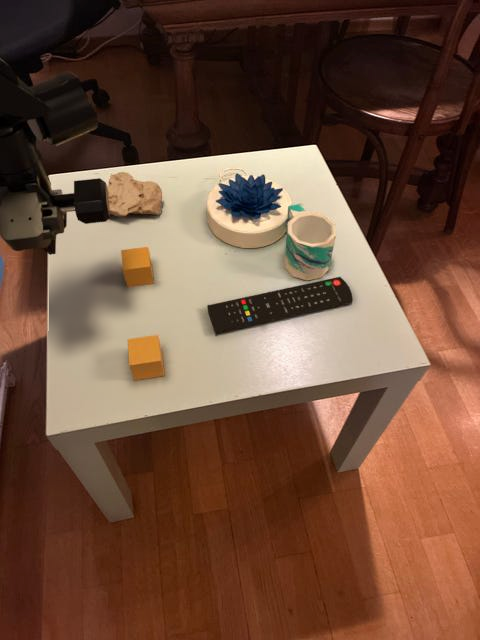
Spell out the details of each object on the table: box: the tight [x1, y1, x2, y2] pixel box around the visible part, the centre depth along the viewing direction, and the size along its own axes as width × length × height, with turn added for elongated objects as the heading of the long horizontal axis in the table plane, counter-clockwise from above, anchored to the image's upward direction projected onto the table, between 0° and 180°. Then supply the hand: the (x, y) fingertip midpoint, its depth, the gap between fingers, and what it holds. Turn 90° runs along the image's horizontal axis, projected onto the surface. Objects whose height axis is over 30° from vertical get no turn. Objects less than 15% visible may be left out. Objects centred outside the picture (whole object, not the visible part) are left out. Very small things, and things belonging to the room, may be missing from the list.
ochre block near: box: [127, 334, 165, 381], centre depth 72 cm, size 4×4×4 cm
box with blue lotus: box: [206, 167, 292, 249], centre depth 91 cm, size 7×16×20 cm
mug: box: [283, 203, 337, 281], centre depth 84 cm, size 8×12×8 cm
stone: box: [107, 171, 163, 218], centre depth 91 cm, size 9×11×5 cm
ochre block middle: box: [121, 246, 155, 288], centre depth 82 cm, size 4×4×4 cm
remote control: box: [206, 276, 354, 335], centre depth 80 cm, size 5×24×1 cm, turn 106°
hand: (52, 252), depth 69 cm, fingers closed
